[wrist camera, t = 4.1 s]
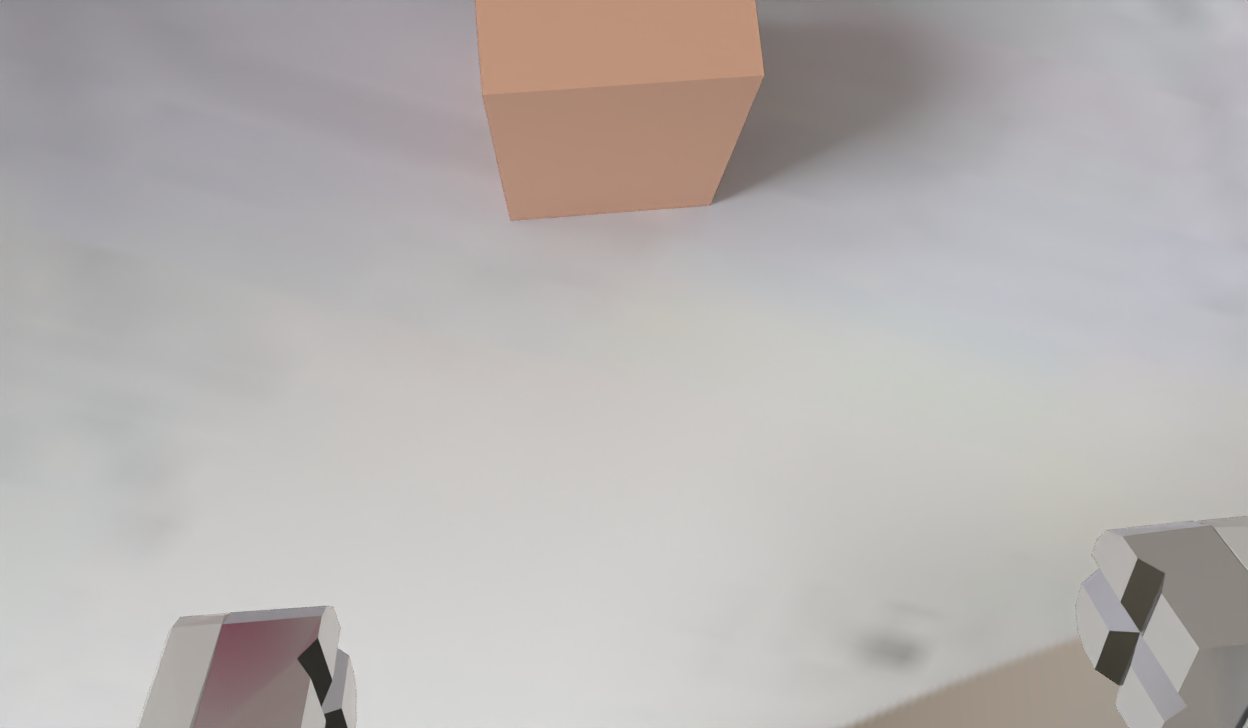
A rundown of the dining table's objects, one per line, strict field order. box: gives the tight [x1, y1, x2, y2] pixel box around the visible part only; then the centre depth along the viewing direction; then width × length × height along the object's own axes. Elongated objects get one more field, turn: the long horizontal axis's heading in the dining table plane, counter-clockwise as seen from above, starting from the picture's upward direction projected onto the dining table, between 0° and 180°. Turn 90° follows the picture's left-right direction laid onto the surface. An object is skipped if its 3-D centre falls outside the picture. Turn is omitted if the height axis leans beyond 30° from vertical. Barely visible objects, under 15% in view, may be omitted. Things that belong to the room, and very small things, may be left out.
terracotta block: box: [475, 0, 764, 221], centre depth 22 cm, size 5×5×8 cm
